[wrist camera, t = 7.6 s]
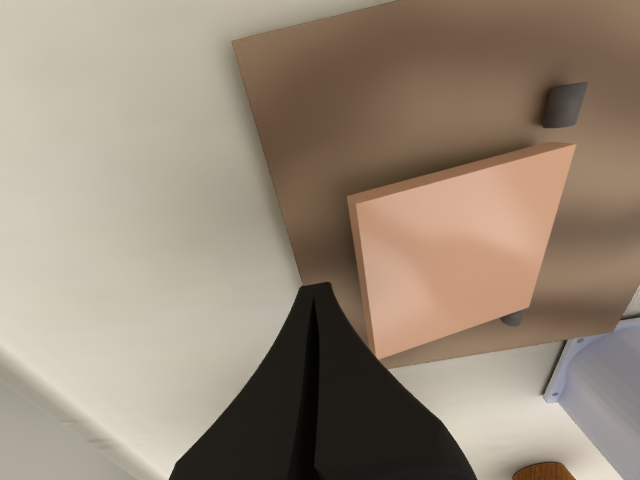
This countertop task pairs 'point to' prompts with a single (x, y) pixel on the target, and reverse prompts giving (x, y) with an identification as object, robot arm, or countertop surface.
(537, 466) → the disposable coffee cup
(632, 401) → the robot arm
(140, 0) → the countertop surface
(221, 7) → the countertop surface
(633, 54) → the board
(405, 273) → the tile
